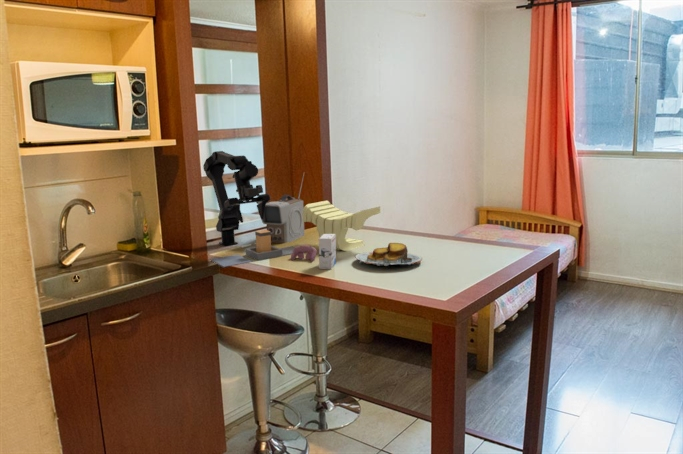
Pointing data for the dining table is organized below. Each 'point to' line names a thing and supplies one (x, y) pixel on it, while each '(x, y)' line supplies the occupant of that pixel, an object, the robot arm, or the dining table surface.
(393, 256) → the food on plate
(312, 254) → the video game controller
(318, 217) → the slatted curved stool
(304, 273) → the dining table surface
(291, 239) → the portable television
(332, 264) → the ink box
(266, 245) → the block
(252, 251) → the case
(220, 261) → the mat
